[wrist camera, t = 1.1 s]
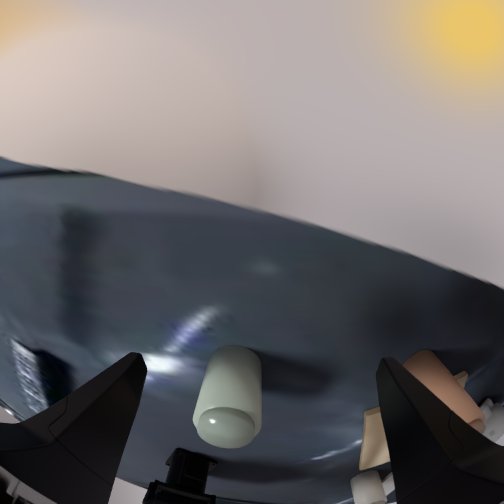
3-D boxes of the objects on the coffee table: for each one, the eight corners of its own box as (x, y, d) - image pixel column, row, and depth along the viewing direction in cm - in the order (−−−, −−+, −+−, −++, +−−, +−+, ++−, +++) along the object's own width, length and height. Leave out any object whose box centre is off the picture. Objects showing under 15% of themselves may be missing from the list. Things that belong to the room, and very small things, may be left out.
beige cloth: (358, 466, 31) (360, 470, 30) (364, 410, 28) (366, 416, 27) (441, 434, 30) (443, 437, 29) (464, 370, 26) (467, 374, 25)
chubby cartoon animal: (475, 413, 32) (498, 434, 25) (457, 431, 28) (483, 457, 20) (496, 385, 31) (520, 407, 23) (483, 400, 26) (511, 427, 18)
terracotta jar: (415, 388, 27) (458, 459, 14) (389, 380, 26) (433, 461, 14) (442, 356, 26) (496, 421, 13) (418, 344, 25) (477, 419, 12)
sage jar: (246, 392, 27) (241, 457, 18) (200, 373, 26) (181, 436, 18) (271, 358, 26) (274, 426, 17) (221, 336, 25) (205, 401, 16)
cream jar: (364, 484, 33) (372, 514, 26) (343, 483, 33) (350, 516, 25) (383, 470, 32) (394, 502, 24) (364, 469, 32) (373, 504, 24)
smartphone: (425, 462, 32) (383, 498, 35) (423, 458, 33) (382, 494, 36) (399, 466, 31) (357, 502, 35) (398, 462, 33) (356, 498, 36)
